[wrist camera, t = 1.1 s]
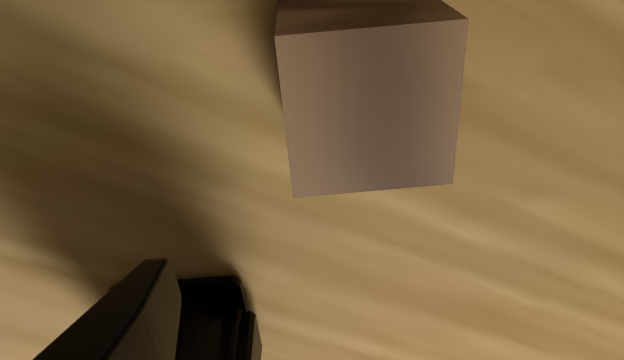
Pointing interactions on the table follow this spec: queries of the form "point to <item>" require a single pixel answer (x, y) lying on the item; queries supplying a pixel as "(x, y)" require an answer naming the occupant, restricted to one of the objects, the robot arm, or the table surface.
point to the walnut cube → (369, 92)
